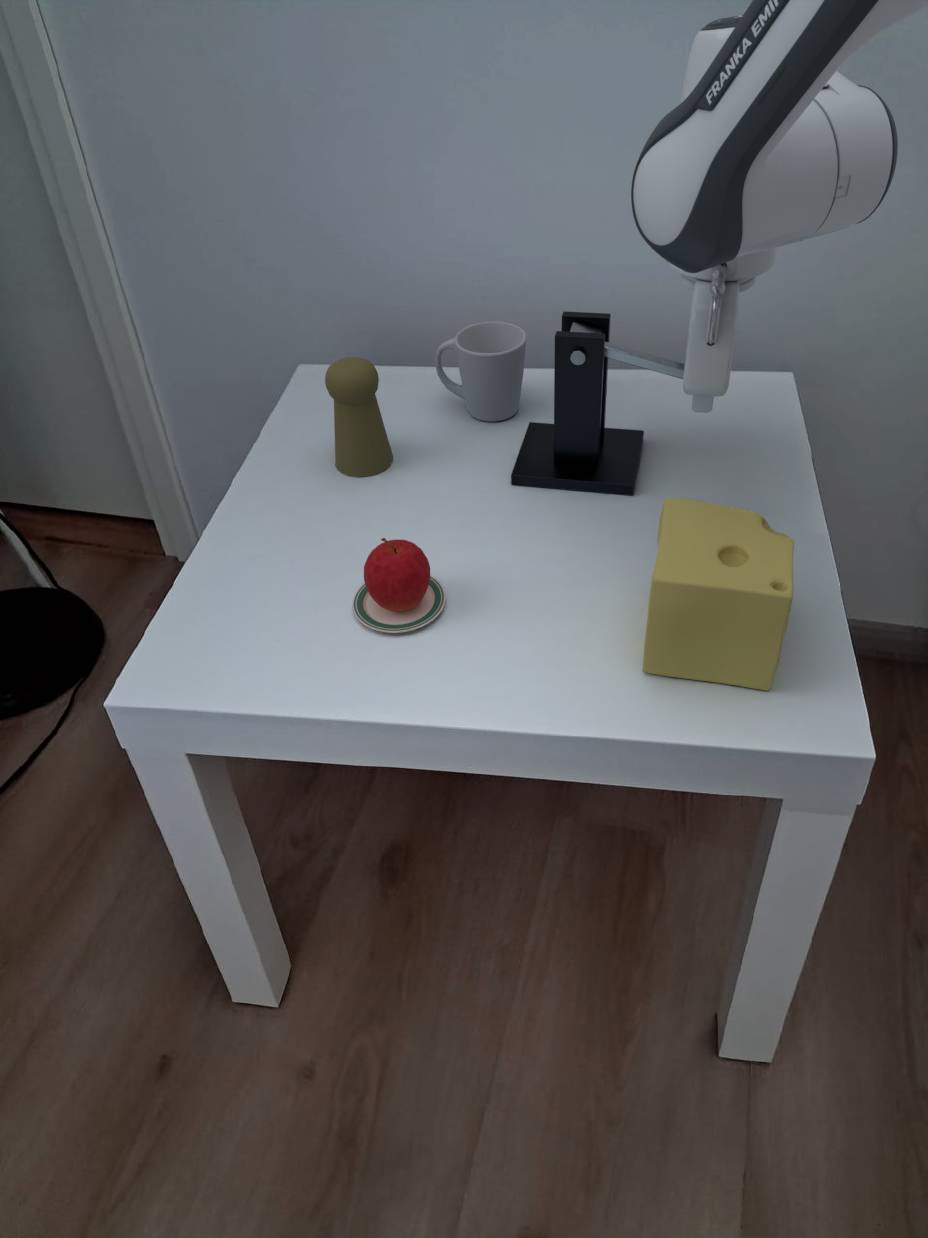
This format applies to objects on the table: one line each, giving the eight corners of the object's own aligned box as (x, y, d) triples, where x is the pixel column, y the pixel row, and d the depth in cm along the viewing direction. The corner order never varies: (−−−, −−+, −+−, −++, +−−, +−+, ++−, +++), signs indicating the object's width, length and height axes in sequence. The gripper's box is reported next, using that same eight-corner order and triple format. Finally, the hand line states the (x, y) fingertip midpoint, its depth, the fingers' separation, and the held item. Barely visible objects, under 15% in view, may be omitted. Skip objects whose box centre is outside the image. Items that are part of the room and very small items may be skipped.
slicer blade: (712, 378, 88) (721, 356, 87) (710, 405, 85) (719, 382, 83) (568, 337, 89) (575, 314, 87) (560, 362, 85) (567, 339, 84)
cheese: (778, 606, 78) (801, 508, 71) (773, 700, 70) (798, 601, 64) (652, 589, 80) (662, 493, 73) (634, 678, 73) (644, 580, 66)
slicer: (643, 440, 97) (654, 303, 87) (633, 495, 90) (644, 354, 80) (529, 431, 100) (528, 297, 90) (511, 485, 93) (507, 346, 83)
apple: (365, 571, 84) (355, 513, 80) (453, 577, 83) (448, 518, 78) (343, 633, 78) (331, 573, 74) (436, 639, 77) (430, 579, 73)
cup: (519, 430, 100) (517, 356, 94) (430, 422, 102) (423, 349, 97) (534, 394, 105) (533, 323, 100) (449, 387, 108) (443, 317, 102)
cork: (333, 449, 99) (316, 353, 92) (389, 441, 100) (377, 345, 93) (337, 480, 95) (320, 383, 88) (396, 472, 96) (384, 374, 88)
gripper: (760, 295, 69) (735, 454, 79) (762, 197, 84) (741, 341, 93) (674, 292, 71) (659, 448, 80) (690, 196, 85) (676, 338, 94)
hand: (703, 390), depth 87 cm, fingers closed on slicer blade, 5 cm apart
